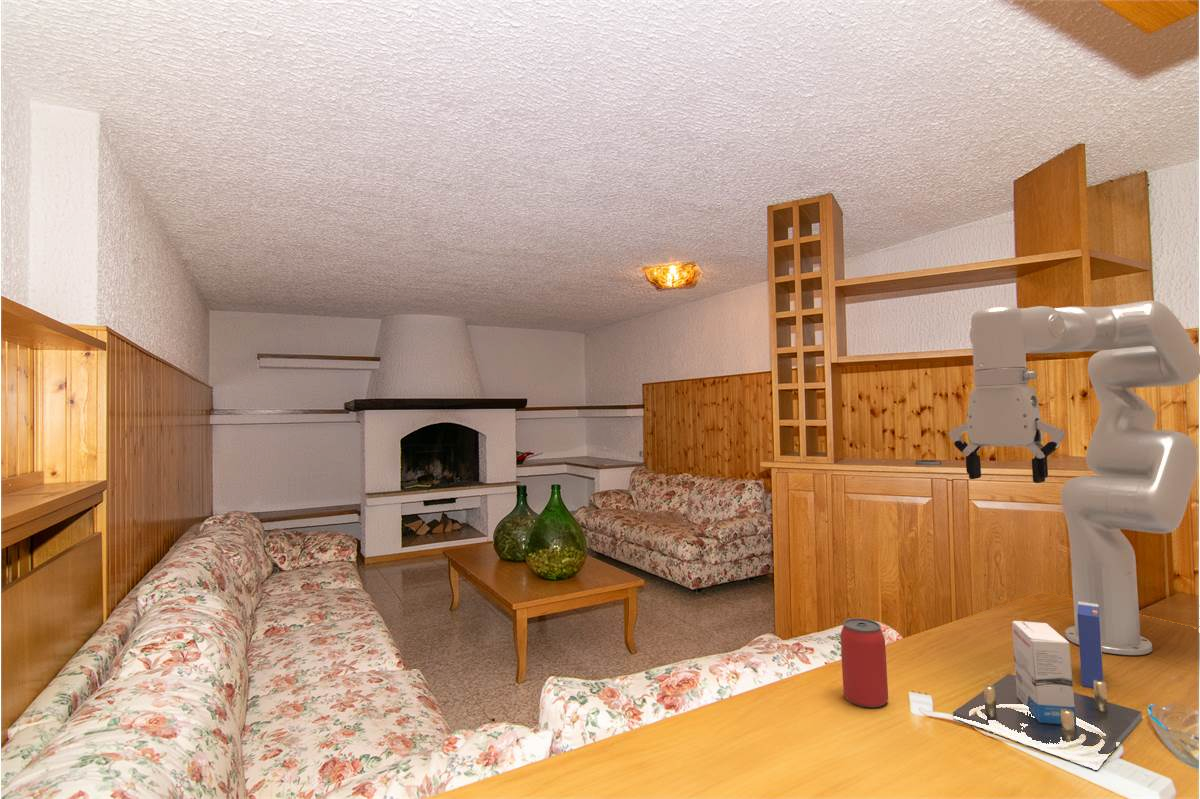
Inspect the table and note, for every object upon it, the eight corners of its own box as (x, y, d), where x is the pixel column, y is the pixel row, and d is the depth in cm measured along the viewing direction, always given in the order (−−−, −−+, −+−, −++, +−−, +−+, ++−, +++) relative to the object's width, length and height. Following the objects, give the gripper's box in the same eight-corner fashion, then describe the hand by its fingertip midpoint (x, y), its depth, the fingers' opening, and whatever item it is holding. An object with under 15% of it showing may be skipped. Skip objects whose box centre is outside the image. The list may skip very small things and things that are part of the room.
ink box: (1077, 727, 84) (1072, 642, 84) (1036, 723, 85) (1031, 639, 86) (1052, 698, 92) (1047, 621, 92) (1014, 695, 94) (1010, 619, 94)
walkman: (1104, 690, 96) (1099, 614, 96) (1081, 685, 98) (1077, 611, 98) (1103, 672, 102) (1098, 601, 102) (1082, 668, 104) (1077, 599, 104)
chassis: (1009, 679, 101) (1007, 649, 101) (1142, 718, 87) (1139, 683, 87) (953, 718, 89) (951, 684, 89) (1096, 771, 76) (1094, 730, 76)
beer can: (888, 693, 98) (884, 619, 98) (888, 712, 92) (884, 633, 92) (844, 687, 101) (840, 615, 101) (842, 705, 95) (838, 628, 95)
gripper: (1069, 376, 98) (1075, 481, 98) (956, 383, 112) (961, 475, 112) (1052, 376, 94) (1058, 486, 93) (937, 383, 108) (942, 479, 107)
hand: (1006, 480), depth 103 cm, fingers open, 9 cm apart
